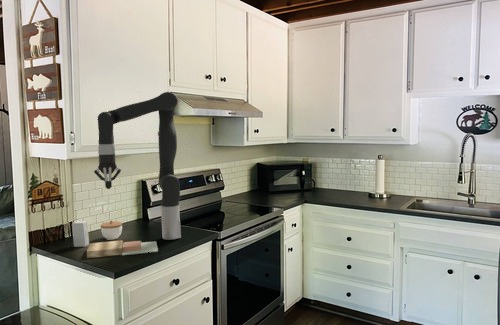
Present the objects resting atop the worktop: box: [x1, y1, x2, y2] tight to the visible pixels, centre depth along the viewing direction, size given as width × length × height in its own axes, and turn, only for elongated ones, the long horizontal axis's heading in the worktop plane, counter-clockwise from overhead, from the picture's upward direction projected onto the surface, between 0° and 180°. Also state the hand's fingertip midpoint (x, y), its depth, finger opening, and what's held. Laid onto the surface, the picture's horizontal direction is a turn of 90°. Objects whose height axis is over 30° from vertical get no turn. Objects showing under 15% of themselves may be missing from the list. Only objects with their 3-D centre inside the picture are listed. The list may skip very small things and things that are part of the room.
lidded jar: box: [100, 220, 123, 241], centre depth 208 cm, size 11×11×9 cm
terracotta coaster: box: [123, 240, 142, 252], centre depth 188 cm, size 8×8×2 cm
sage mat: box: [121, 241, 159, 256], centre depth 189 cm, size 16×16×1 cm
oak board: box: [86, 239, 124, 259], centre depth 185 cm, size 15×13×3 cm
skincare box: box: [71, 220, 90, 248], centre depth 195 cm, size 6×4×12 cm
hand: (108, 188), depth 193 cm, fingers closed
